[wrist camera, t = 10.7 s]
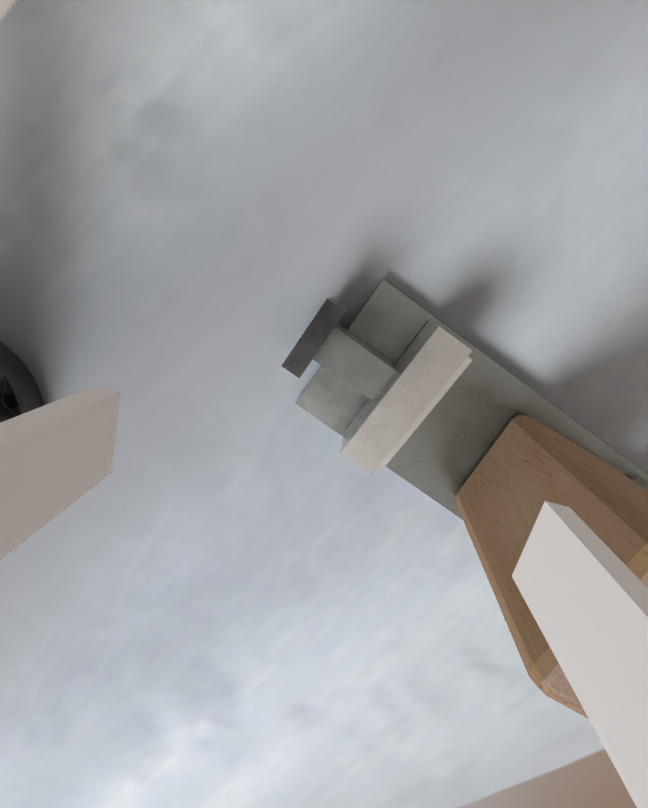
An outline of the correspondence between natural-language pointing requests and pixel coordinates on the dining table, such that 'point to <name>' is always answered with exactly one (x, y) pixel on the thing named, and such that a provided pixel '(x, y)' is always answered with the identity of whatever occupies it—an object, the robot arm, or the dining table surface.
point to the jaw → (381, 381)
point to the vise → (446, 405)
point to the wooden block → (517, 513)
